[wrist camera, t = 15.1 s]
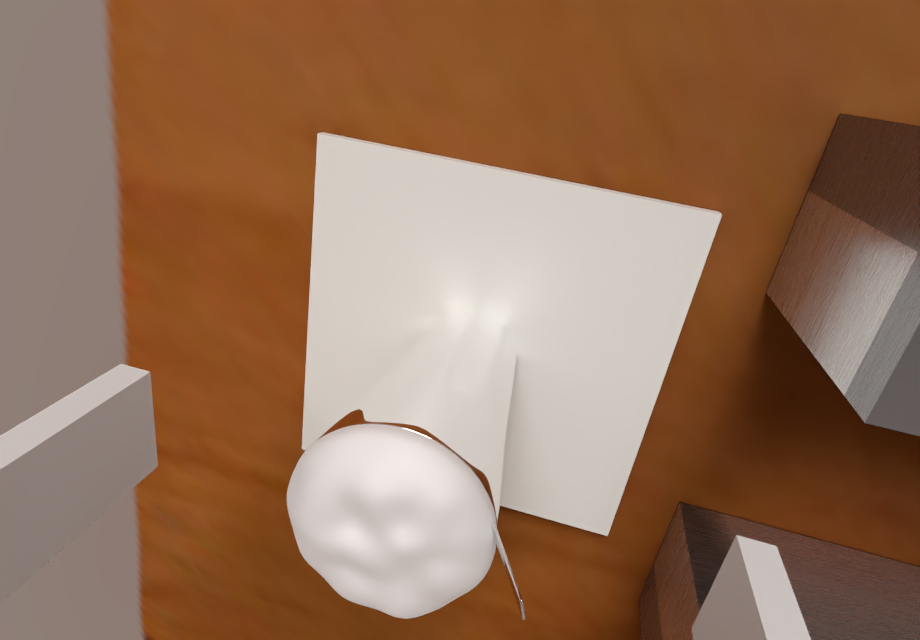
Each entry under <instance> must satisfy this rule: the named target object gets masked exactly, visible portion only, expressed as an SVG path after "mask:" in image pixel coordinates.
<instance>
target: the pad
mask: <svg viewBox="0 0 920 640" xmlns="http://www.w3.org/2000/svg"><path fill="white" fill-rule="evenodd" d="M721 217H722V214H721V213H720V212H718V211H713V210H708V209H703V208H698V207H693V206H688V205H683V204H678V203H673V202H668V201H663V200H658V199H653V198H648V197H643V196H638V195H633V194H628V193H623V192H618V191H613V190H608V189H603V188H598V187H593V186H588V185H583V184H578V183H573V182H568V181H564V180H559V179H554V178H549V177H544V176H539V175H534V174H529V173H524V172H519V171H514V170H509V169H504V168H499V167H494V166H489V165H484V164H479V163H474V162H469V161H464V160H459V159H454V158H449V157H444V156H439V155H434V154H429V153H424V152H419V151H414V150H409V149H404V148H399V147H394V146H389V145H384V144H379V143H374V142H369V141H364V140H359V139H354V138H350V137H345V136H340V135H335V134H330V133H325V132H322V133H318V135H317V155H316V175H315V195H314V214H313V234H312V254H311V274H310V294H309V314H308V334H307V354H306V373H305V393H304V413H303V433H302V449H303V450H306V449H307V448H308V447H309V446H310V445H311V444H313V443H314V442H315V441H316V440H317V439H318V438H319V437H320V436H322V435H323V434H324V433H325V432H326V431H327V430H328V429H329V428H330V427H331V426H332V425H333V424H334V423H335V422H336V421H337V420H338V419H339V418H340V417H341V416H342V415H343V414H344V413H345V412H346V411H347V410H348V409H349V408H350V407H351V406H353V405H354V404H355V403H356V402H357V401H358V400H359V399H360V398H361V397H362V396H363V395H364V394H365V393H367V392H368V391H369V390H370V389H371V388H372V387H373V386H374V385H375V384H376V383H377V382H378V381H379V380H380V379H381V377H382V376H383V375H384V374H385V373H386V372H387V371H388V370H389V369H390V368H391V367H392V366H393V365H394V363H395V362H396V361H397V360H398V359H399V358H400V357H401V356H402V355H403V354H404V353H405V352H406V351H407V350H408V348H409V347H410V346H411V345H412V344H413V343H414V342H415V341H416V340H417V339H418V338H419V337H420V336H421V335H422V333H423V332H424V331H426V330H427V329H428V328H429V327H430V326H432V325H433V324H434V323H435V322H436V321H437V320H439V319H440V318H441V317H442V316H443V315H444V314H446V313H448V312H469V311H478V312H480V313H481V314H483V315H485V316H486V317H488V318H490V319H491V320H493V321H495V322H497V323H498V324H500V325H502V326H503V327H504V328H505V330H506V332H507V334H508V336H509V338H510V340H511V342H512V345H513V347H514V349H515V351H516V353H517V360H516V367H515V374H514V381H513V388H512V395H511V402H510V409H509V416H508V423H507V431H506V439H505V449H504V462H503V474H502V486H501V497H500V506H503V507H507V508H510V509H514V510H517V511H521V512H524V513H528V514H531V515H535V516H538V517H542V518H545V519H549V520H552V521H556V522H559V523H563V524H567V525H570V526H574V527H577V528H581V529H584V530H588V531H591V532H595V533H598V534H602V535H605V536H608V534H609V531H610V528H611V525H612V522H613V520H614V517H615V514H616V511H617V508H618V506H619V503H620V500H621V497H622V494H623V491H624V489H625V486H626V483H627V480H628V477H629V475H630V472H631V469H632V466H633V463H634V461H635V458H636V455H637V452H638V449H639V447H640V444H641V441H642V438H643V435H644V433H645V430H646V427H647V424H648V421H649V419H650V416H651V413H652V410H653V407H654V405H655V402H656V399H657V396H658V393H659V391H660V388H661V385H662V382H663V379H664V376H665V374H666V371H667V368H668V365H669V362H670V360H671V357H672V354H673V351H674V348H675V346H676V343H677V340H678V337H679V334H680V332H681V329H682V326H683V323H684V320H685V318H686V315H687V312H688V309H689V306H690V304H691V301H692V298H693V295H694V292H695V290H696V287H697V284H698V281H699V278H700V275H701V273H702V270H703V267H704V264H705V261H706V259H707V256H708V253H709V250H710V247H711V245H712V242H713V239H714V236H715V233H716V231H717V228H718V225H719V222H720V219H721Z"/></svg>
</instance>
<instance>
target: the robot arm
mask: <svg viewBox="0 0 920 640" xmlns="http://www.w3.org/2000/svg"><path fill="white" fill-rule="evenodd" d="M157 466H158V462H157V449H156V437H155V425H154V413H153V400H152V388H151V376H150V372H149V371H145V370H142V369H138V368H134V367H131V366H127V365H124V364H120V365H118V366H116V367H115V368H113V369H111V370H110V371H108V372H106V373H105V374H103V375H101V376H100V377H98V378H96V379H95V380H93V381H91V382H90V383H88V384H86V385H85V386H83V387H81V388H80V389H78V390H76V391H74V392H73V393H72V394H70V395H68V396H66V397H64V398H63V399H61V400H59V401H58V402H56V403H54V404H53V405H51V406H49V407H48V408H46V409H44V410H43V411H41V412H39V413H38V414H36V415H34V416H33V417H31V418H29V419H28V420H26V421H24V422H22V423H21V424H19V425H17V426H16V427H14V428H13V429H11V430H9V431H7V432H6V433H4V434H2V435H1V436H0V604H1V603H2V602H3V601H4V600H5V599H7V597H9V596H10V595H11V594H12V593H13V592H15V590H17V589H18V588H19V587H20V586H21V585H23V584H24V583H25V582H26V581H27V580H28V579H29V578H30V577H32V576H33V575H34V574H35V573H36V572H37V571H39V570H40V569H41V568H42V567H43V566H44V565H45V564H46V563H48V562H49V561H50V560H51V559H52V558H53V557H55V556H56V555H57V554H58V553H59V552H60V551H61V550H62V549H64V548H65V547H66V546H67V545H68V544H69V543H71V542H72V541H73V540H74V539H75V538H76V537H77V536H78V535H80V534H81V533H82V532H83V531H84V530H85V529H87V528H88V527H89V526H90V525H91V524H92V523H93V522H94V521H96V520H97V519H98V518H99V517H100V516H101V515H103V514H104V513H105V512H106V511H107V510H108V509H109V508H110V507H112V506H113V505H114V504H115V503H116V502H117V501H119V500H120V499H121V498H122V497H123V496H124V495H125V494H127V493H128V492H129V491H130V490H131V489H132V488H133V487H135V486H136V485H137V484H138V483H139V482H140V481H141V480H143V479H144V478H145V477H146V476H147V475H148V474H149V473H151V472H152V471H153V470H154V469H155V468H156V467H157ZM692 635H693V640H811V638H810V635H809V633H808V630H807V627H806V624H805V622H804V619H803V616H802V614H801V611H800V608H799V605H798V603H797V600H796V597H795V595H794V592H793V589H792V586H791V584H790V581H789V578H788V576H787V573H786V570H785V567H784V565H783V562H782V559H781V556H780V554H779V551H778V548H777V546H775V545H771V544H768V543H764V542H760V541H757V540H753V539H750V538H746V537H742V536H739V535H736V537H735V539H734V541H733V543H732V545H731V547H730V549H729V551H728V553H727V556H726V558H725V560H724V562H723V564H722V566H721V568H720V570H719V572H718V574H717V576H716V578H715V580H714V582H713V585H712V587H711V589H710V591H709V593H708V595H707V597H706V599H705V601H704V603H703V605H702V607H701V609H700V611H699V614H698V616H697V618H696V620H695V622H694V624H693V626H692Z"/></svg>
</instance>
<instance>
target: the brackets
mask: <svg viewBox="0 0 920 640" xmlns="http://www.w3.org/2000/svg"><path fill="white" fill-rule="evenodd" d="M766 293H767V295H768V296H769V297H770V299H771V300H772V301H773V302H774V304H775V305H776V306H777V308H778V309H779V310H780V312H781V313H782V314H783V316H784V317H785V318H786V320H787V321H788V322H789V324H790V325H791V326H792V328H793V329H794V330H795V331H796V333H797V334H798V335H799V337H800V338H801V339H802V341H803V342H804V343H805V345H806V346H807V347H808V349H809V350H810V351H811V353H812V354H813V355H814V357H815V358H816V359H817V361H818V362H819V363H820V364H821V366H822V367H823V368H824V370H825V371H826V372H827V374H828V375H829V376H830V378H831V379H832V380H833V382H834V383H835V384H836V386H837V387H838V388H839V390H840V391H841V392H842V393H843V395H844V396H845V397H846V399H847V400H848V401H849V403H850V404H851V405H852V407H853V408H854V409H855V411H856V412H857V413H858V415H859V416H860V417H861V419H862V420H863V421H864V423H867V424H871V425H875V426H879V427H883V428H888V429H892V430H896V431H900V432H904V433H908V434H912V435H916V436H920V126H916V125H910V124H903V123H897V122H891V121H885V120H878V119H872V118H866V117H859V116H853V115H847V114H840V115H839V118H838V120H837V123H836V125H835V128H834V130H833V132H832V135H831V137H830V140H829V142H828V144H827V147H826V149H825V152H824V154H823V157H822V159H821V161H820V164H819V166H818V169H817V171H816V173H815V176H814V178H813V181H812V183H811V186H810V188H809V190H808V193H807V195H806V198H805V200H804V202H803V205H802V207H801V210H800V212H799V215H798V217H797V219H796V222H795V224H794V227H793V229H792V231H791V234H790V236H789V239H788V241H787V244H786V246H785V248H784V251H783V253H782V256H781V258H780V260H779V263H778V265H777V268H776V270H775V273H774V275H773V277H772V280H771V282H770V285H769V287H768V290H767V292H766ZM736 535H739V536H742V537H746V538H750V539H753V540H757V541H760V542H764V543H768V544H771V545H775V546H777V548H778V551H779V554H780V556H781V559H782V562H783V565H784V567H785V570H786V573H787V576H788V578H789V581H790V584H791V586H792V589H793V592H794V595H795V597H796V600H797V603H798V605H799V608H800V611H801V614H802V616H803V619H804V622H805V624H806V627H807V630H808V633H809V635H810V638H811V640H920V567H917V566H913V565H910V564H906V563H902V562H899V561H895V560H891V559H888V558H884V557H880V556H877V555H873V554H869V553H865V552H862V551H858V550H854V549H851V548H847V547H843V546H840V545H836V544H832V543H829V542H825V541H821V540H818V539H814V538H810V537H807V536H803V535H799V534H796V533H792V532H788V531H784V530H781V529H777V528H773V527H770V526H766V525H762V524H759V523H755V522H751V521H748V520H744V519H740V518H737V517H733V516H729V515H726V514H722V513H718V512H714V511H711V510H707V509H703V508H700V507H696V506H692V505H689V504H685V503H681V502H679V505H678V507H677V510H676V512H675V514H674V517H673V519H672V522H671V524H670V526H669V529H668V531H667V534H666V536H665V539H664V541H663V543H662V546H661V548H660V551H659V553H658V555H657V558H656V560H655V563H654V565H653V568H652V570H651V572H650V575H649V577H648V580H647V582H646V584H645V587H644V589H643V592H642V594H641V597H640V599H639V611H640V625H641V639H642V640H693V635H692V626H693V624H694V622H695V620H696V618H697V616H698V614H699V611H700V609H701V607H702V605H703V603H704V601H705V599H706V597H707V595H708V593H709V591H710V589H711V587H712V585H713V582H714V580H715V578H716V576H717V574H718V572H719V570H720V568H721V566H722V564H723V562H724V560H725V558H726V556H727V553H728V551H729V549H730V547H731V545H732V543H733V541H734V539H735V537H736Z"/></svg>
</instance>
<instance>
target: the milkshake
mask: <svg viewBox="0 0 920 640" xmlns="http://www.w3.org/2000/svg"><path fill="white" fill-rule="evenodd" d="M516 360H517V353H516V351H515V349H514V347H513V345H512V342H511V340H510V338H509V336H508V334H507V332H506V330H505V328H504V327H503V326H502V325H500V324H498V323H497V322H495V321H493V320H491V319H490V318H488V317H486V316H485V315H483V314H481V313H480V312H478V311H469V312H448V313H446V314H444V315H443V316H442V317H441V318H440V319H439V320H437V321H436V322H435V323H434V324H433V325H432V326H430V327H429V328H428V329H427V330H426V331H424V332H423V333H422V335H421V336H420V337H419V338H418V339H417V340H416V341H415V342H414V343H413V344H412V345H411V346H410V347H409V348H408V350H407V351H406V352H405V353H404V354H403V355H402V356H401V357H400V358H399V359H398V360H397V361H396V362H395V363H394V365H393V366H392V367H391V368H390V369H389V370H388V371H387V372H386V373H385V374H384V375H383V376H382V377H381V379H380V380H379V381H378V382H377V383H376V384H375V385H374V386H373V387H372V388H371V389H370V390H369V391H368V392H367V393H365V394H364V395H363V396H362V397H361V398H360V399H359V400H358V401H357V402H356V403H355V404H354V405H353V406H351V407H350V408H349V409H348V410H347V411H346V412H345V413H344V414H343V415H342V416H341V417H340V418H339V419H338V420H337V421H336V422H335V423H334V424H333V425H332V426H331V427H330V428H329V429H328V430H327V431H326V432H325V433H324V434H323V435H322V436H320V437H319V438H318V439H317V440H316V441H315V442H314V443H313V444H311V445H310V446H309V447H308V448H307V449H306V451H305V452H304V453H303V455H302V456H301V458H300V460H299V461H298V463H297V465H296V467H295V470H294V472H293V474H292V477H291V479H290V482H289V486H288V490H287V507H288V512H289V516H290V520H291V524H292V527H293V531H294V535H295V538H296V542H297V545H298V547H299V550H300V552H301V554H302V556H303V558H304V559H305V560H306V561H307V563H308V564H309V565H310V566H311V567H313V568H314V569H315V570H316V571H317V572H318V573H319V574H320V575H321V576H322V577H323V578H324V579H325V580H326V581H327V582H328V583H329V584H330V586H331V587H332V588H333V589H334V590H335V591H336V592H337V593H338V594H339V595H341V596H342V597H343V598H345V599H347V600H349V601H351V602H354V603H356V604H359V605H363V606H366V607H370V608H373V609H377V610H379V611H382V612H384V613H386V614H388V615H391V616H393V617H397V618H405V619H410V618H415V617H418V616H422V615H425V614H428V613H430V612H433V611H435V610H437V609H439V608H441V607H443V606H445V605H446V604H448V603H450V602H451V601H453V600H455V599H456V598H458V597H460V596H462V595H464V594H465V593H467V592H469V591H470V590H472V589H473V588H474V587H476V586H477V585H478V584H479V583H480V582H481V581H482V579H483V578H484V577H485V575H486V574H487V572H488V570H489V568H490V566H491V563H492V561H493V557H494V554H495V549H496V544H497V547H498V550H499V553H500V556H501V558H502V561H503V564H504V567H505V570H506V573H507V576H508V579H509V582H510V585H511V587H512V590H513V593H514V596H515V599H516V602H517V605H518V608H519V611H520V613H521V616H522V619H523V620H525V612H524V605H523V600H522V597H521V594H520V592H519V589H518V586H517V583H516V580H515V578H514V575H513V572H512V569H511V567H510V564H509V561H508V558H507V555H506V553H505V550H504V547H503V544H502V541H501V539H500V536H499V533H498V520H499V508H500V497H501V486H502V474H503V462H504V449H505V439H506V431H507V423H508V416H509V409H510V402H511V395H512V388H513V381H514V374H515V367H516Z"/></svg>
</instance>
